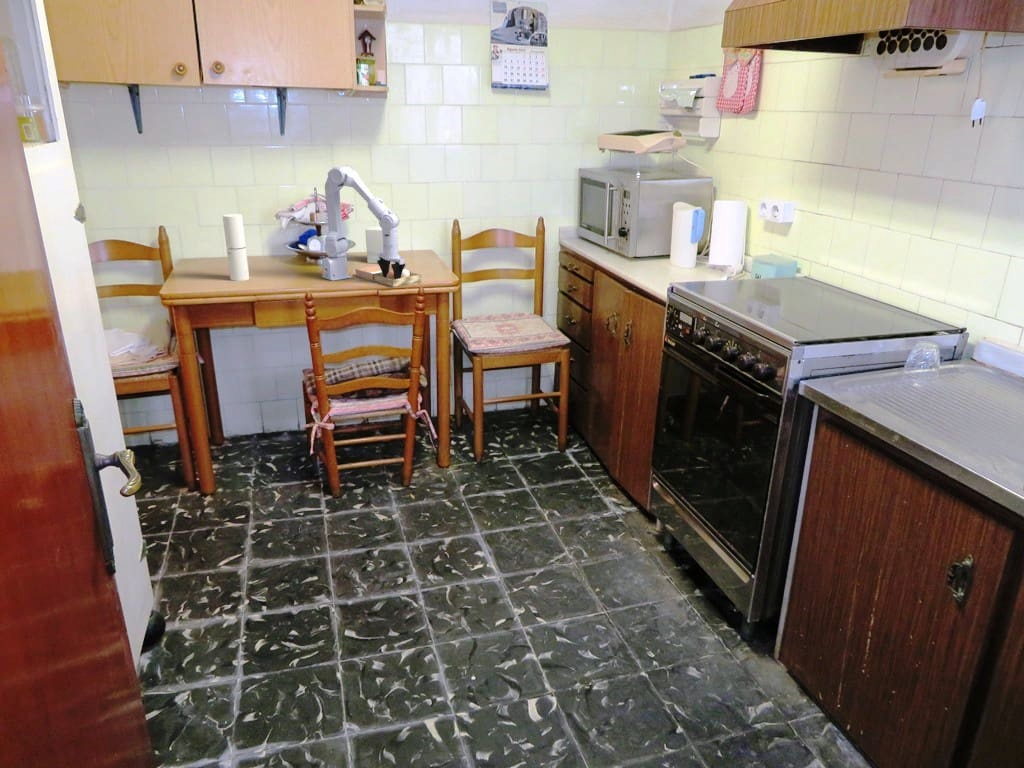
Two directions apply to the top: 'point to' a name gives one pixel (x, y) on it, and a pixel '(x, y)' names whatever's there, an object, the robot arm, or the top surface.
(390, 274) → the terracotta ball
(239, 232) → the cylindrical container
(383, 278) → the box
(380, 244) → the supplement box
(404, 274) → the cream ball
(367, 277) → the peach open box
